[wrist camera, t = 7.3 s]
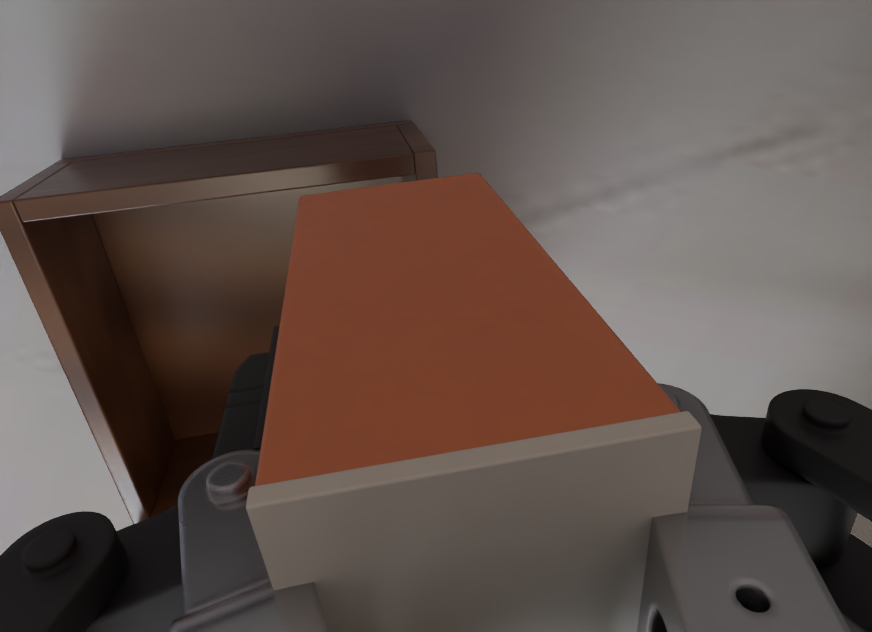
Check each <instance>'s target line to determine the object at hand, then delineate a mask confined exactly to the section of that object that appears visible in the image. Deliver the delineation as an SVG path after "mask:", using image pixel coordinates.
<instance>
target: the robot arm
mask: <svg viewBox="0 0 872 632" xmlns="http://www.w3.org/2000/svg"><path fill="white" fill-rule="evenodd" d="M279 327H280V325H275V326H274V329H273V335H272V341H271V346H270V352H267V353H260V354H254V355H249V356H248V357H247V359H246V360H245V361H244V362H243V363H242V364H241V365H240V366H239V368H238V369H237V370H236V371H235V372H234V375H233V379H232V383H231V387H230V394H229V395H228V399H227V403H226V409H225V410H224V414H223V418H222V422H221V426H220V430H219V434H218V438H217V442H216V446H215V450H214V454H213V458H212V460H210V461H208V462H207V463H205V464H203V465H202V466H201V467H199V468H198V469H197V470H195V471H194V472H193V473H192V474H191V475H190V476H189V477H188V479H187V480H186V481H185V483H184V484H183V486H182V488H181V490H180V493H179V496H178V504H177V505H175V506H173V507H172V508H170V509H168V510H166V511H164V512H162V513H160V514H158V515H155V516H153V517H150V518H148V519H145V520H143V521H141V522H138V523H136V524H133V525H131V526H128V527H126V528H123V529H121V530H119V531H116V530H115V528H114V526H113V524H112V523H111V521H110V520H109V519H108V518H107V517H106V516H104V515H102V514H100V513H95V512H75V513H70V514H66V515H63V516H60V517H57V518H54V519H51V520H49V521H47V522H45V523H43V524H41V525H39V526H37V527H35V528H33V529H32V530H30V531H29V532H27V533H26V534H24V535H23V536H22V537H20V538H19V539H18V540H17V541H15V542H14V543H13V544H12V545H11V546H10V547H9V548H8V549H7V550H6V551H5V552H4V553H3V554H2V555H1V556H0V632H328V629H327V625H326V622H325V618H324V615H323V611H322V608H321V604H320V601H319V597H318V594H317V590H316V587H315V583H314V582H311V583H306V584H301V585H296V586H292V587H288V588H284V589H279V590H274V589H273V587H272V584H271V581H270V578H269V575H268V572H267V569H266V566H265V563H264V560H263V557H262V554H261V551H260V548H259V545H258V542H257V539H256V536H255V533H254V531H253V528H252V525H251V522H250V519H249V516H248V513H247V510H246V503H247V497H248V491H249V488H250V487H253V486H255V483H256V476H257V470H258V463H259V457H260V450H261V444H262V437H263V431H264V424H265V418H266V411H267V405H268V398H269V392H270V385H271V379H272V372H273V366H274V359H275V353H276V346H277V340H278V333H279ZM657 384H658V385H659V386H660V387H661V389H662V390H663V391H664V392H665V393H666V394H667V396H668V397H669V398H670V399H671V400H672V402H673V403H674V404H675V405H676V406H677V407H678V409H679V410H680V411H681V412H683V411H688V412H690V413H691V415H692V416H693V417H694V418H695V419H696V420H697V422H698V423H699V424H700V425H701V428H702V429H701V435H700V441H699V446H698V452H697V458H696V464H695V470H694V476H693V482H692V487H691V493H690V499H689V505H688V511H687V512H683V513H676V514H669V515H663V516H658V517H652V520H651V528H650V535H649V543H648V550H647V558H646V566H645V573H644V581H643V588H642V596H641V603H640V611H639V619H638V626H637V632H872V548H871V547H870V546H868V545H867V544H865V543H864V542H862V541H861V540H859V539H858V538H856V537H855V536H853V535H852V534H850V533H851V530H852V527H853V524H854V522H855V519H856V516H857V514H858V513H859V514H861V515H863V516H864V517H866V518H867V519H869V520H871V521H872V410H871V409H869V408H867V407H865V406H863V405H861V404H859V403H857V402H854V401H852V400H850V399H848V398H845V397H842V396H839V395H836V394H833V393H829V392H824V391H818V390H808V389H799V390H791V391H786V392H783V393H781V394H778V395H777V396H775V397H774V398H773V399H772V400H771V401H770V404H769V407H768V411H767V415H766V418H754V417H735V416H720V415H712V414H709V412H708V410H707V408H706V407H705V405H704V404H703V403H702V402H701V401H700V400H699V399H698V398H696V397H695V396H694V395H692V394H690V393H689V392H687V391H685V390H682V389H680V388H677V387H674V386H670V385H666V384H659V383H657Z"/></svg>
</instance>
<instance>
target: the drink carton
mask: <svg viewBox="0 0 872 632" xmlns="http://www.w3.org/2000/svg"><path fill="white" fill-rule="evenodd" d="M701 429H702V428H701V425H700V424H699V423H698V422H697V420H696V419H695V418H694V417H693V416H692V415H691V413H690V412H688V411H683V412H681V411H680V410H679V409H678V407H677V406H676V405H675V404H674V403H673V402H672V400H671V399H670V398H669V397H668V396H667V394H666V393H665V392H664V391H663V390H662V389H661V387H660V386H659V385H658V384H657V383H656V381H655V380H654V379H653V378H652V377H651V376H650V374H649V373H648V372H647V371H646V370H645V368H644V367H643V366H642V365H641V364H640V363H639V361H638V360H637V359H636V358H635V357H634V355H633V354H632V353H631V352H630V351H629V350H628V348H627V347H626V346H625V345H624V344H623V342H622V341H621V340H620V339H619V338H618V336H617V335H616V334H615V333H614V332H613V331H612V329H611V328H610V327H609V326H608V325H607V323H606V322H605V321H604V320H603V319H602V318H601V316H600V315H599V314H598V313H597V312H596V310H595V309H594V308H593V307H592V306H591V305H590V303H589V302H588V301H587V300H586V299H585V297H584V296H583V295H582V294H581V293H580V292H579V290H578V289H577V288H576V287H575V286H574V284H573V283H572V282H571V281H570V280H569V279H568V277H567V276H566V275H565V274H564V273H563V271H562V270H561V269H560V268H559V267H558V265H557V264H556V263H555V262H554V261H553V260H552V258H551V257H550V256H549V255H548V254H547V252H546V251H545V250H544V249H543V248H542V247H541V245H540V244H539V243H538V242H537V241H536V239H535V238H534V237H533V236H532V235H531V234H530V232H529V231H528V230H527V229H526V228H525V226H524V225H523V224H522V223H521V222H520V221H519V219H518V218H517V217H516V216H515V215H514V213H513V212H512V211H511V210H510V209H509V208H508V206H507V205H506V204H505V203H504V202H503V200H502V199H501V198H500V197H499V196H498V194H497V193H496V192H495V191H494V190H493V189H492V187H491V186H490V185H489V184H488V183H487V181H486V180H485V179H484V178H483V177H482V176H481V174H479V173H473V174H465V175H457V176H449V177H442V178H434V179H426V180H418V181H411V182H403V183H395V184H387V185H380V186H372V187H364V188H356V189H349V190H341V191H333V192H325V193H318V194H310V195H302V196H301V197H300V198H299V203H298V210H297V216H296V223H295V229H294V236H293V242H292V249H291V255H290V262H289V268H288V275H287V281H286V288H285V294H284V301H283V307H282V314H281V320H280V327H279V333H278V340H277V346H276V353H275V359H274V366H273V372H272V379H271V385H270V392H269V398H268V405H267V411H266V418H265V424H264V431H263V437H262V444H261V450H260V457H259V463H258V470H257V476H256V483H255V486H253V487H250V488H249V491H248V497H247V503H246V510H247V513H248V516H249V519H250V522H251V525H252V528H253V531H254V533H255V536H256V539H257V542H258V545H259V548H260V551H261V554H262V557H263V560H264V563H265V566H266V569H267V572H268V575H269V578H270V581H271V584H272V587H273V589H274V590H279V589H284V588H288V587H292V586H296V585H301V584H306V583H311V582H314V583H315V587H316V590H317V594H318V597H319V601H320V604H321V608H322V611H323V615H324V618H325V622H326V625H327V629H328V632H637V626H638V619H639V611H640V603H641V596H642V588H643V581H644V573H645V566H646V558H647V550H648V543H649V535H650V528H651V520H652V517H658V516H663V515H669V514H676V513H683V512H687V511H688V505H689V499H690V493H691V487H692V482H693V476H694V470H695V464H696V458H697V452H698V446H699V441H700V435H701Z"/></svg>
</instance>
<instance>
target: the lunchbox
mask: <svg viewBox="0 0 872 632" xmlns="http://www.w3.org/2000/svg"><path fill="white" fill-rule="evenodd" d="M434 178H437V165H436V152H435V150H434V148H433V147H432V146H431V145H430V143H429V142H428V141H427V139H426V138H425V137H424V136H423V134H422V133H421V132H420V131H419V129H418V128H417V127H416V125H415V124H414V123H413V122H412V121H411V120H409V121H400V122H391V123H382V124H373V125H365V126H356V127H347V128H338V129H329V130H320V131H311V132H302V133H293V134H285V135H276V136H267V137H258V138H249V139H240V140H231V141H222V142H213V143H205V144H196V145H187V146H178V147H169V148H160V149H151V150H142V151H133V152H125V153H116V154H107V155H98V156H89V157H80V158H71V159H62V160H59V161H58V162H56V163H54V164H53V165H51V166H50V167H48V168H46V169H45V170H43V171H41V172H40V173H38V174H37V175H35V176H33V177H32V178H30V179H28V180H27V181H25V182H23V183H22V184H20V185H18V186H17V187H15V188H13V189H12V190H10V191H8V192H7V193H5V194H4V195H2V196H0V231H1V233H2V236H3V238H4V240H5V242H6V244H7V247H8V249H9V251H10V253H11V255H12V258H13V260H14V262H15V264H16V266H17V269H18V271H19V273H20V275H21V277H22V280H23V282H24V284H25V286H26V288H27V291H28V293H29V295H30V297H31V299H32V302H33V304H34V306H35V308H36V310H37V313H38V315H39V317H40V319H41V321H42V324H43V326H44V328H45V330H46V332H47V335H48V337H49V339H50V341H51V343H52V346H53V348H54V350H55V352H56V354H57V357H58V359H59V361H60V363H61V365H62V368H63V370H64V372H65V374H66V376H67V379H68V381H69V383H70V385H71V387H72V390H73V392H74V394H75V396H76V398H77V401H78V403H79V405H80V407H81V409H82V412H83V414H84V416H85V418H86V420H87V423H88V425H89V427H90V429H91V431H92V434H93V436H94V438H95V440H96V442H97V445H98V447H99V449H100V451H101V453H102V456H103V458H104V460H105V462H106V464H107V467H108V469H109V471H110V473H111V475H112V478H113V480H114V482H115V484H116V486H117V489H118V491H119V493H120V495H121V497H122V500H123V502H124V504H125V506H126V508H127V511H128V513H129V515H130V517H131V519H132V522H133V524H136V523H138V522H141V521H143V520H145V519H148V518H150V517H153V516H155V515H158V514H160V513H162V512H164V511H166V510H168V509H170V508H172V507H173V506H175V505H177V504H178V496H179V493H180V490H181V488H182V486H183V484H184V483H185V481H186V480H187V479H188V477H189V476H190V475H191V474H192V473H193V472H194V471H195V470H197V469H198V468H199V467H201V466H202V465H203V464H205V463H207V462H208V461H210V460H212V458H213V454H214V450H215V446H216V442H217V438H218V434H219V430H220V426H221V422H222V418H223V414H224V410H225V409H226V403H227V399H228V395H229V394H230V387H231V383H232V379H233V375H234V372H235V371H236V370H237V369H238V368H239V366H240V365H241V364H242V363H243V362H244V361H245V360H246V359H247V357H248V356H249V355H254V354H260V353H267V352H270V346H271V341H272V335H273V329H274V326H275V325H280V320H281V314H282V307H283V301H284V294H285V288H286V281H287V275H288V268H289V262H290V255H291V249H292V242H293V236H294V229H295V223H296V216H297V210H298V203H299V198H300V197H301V196H302V195H310V194H318V193H325V192H333V191H341V190H349V189H356V188H364V187H372V186H380V185H387V184H395V183H403V182H411V181H418V180H426V179H434Z"/></svg>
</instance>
